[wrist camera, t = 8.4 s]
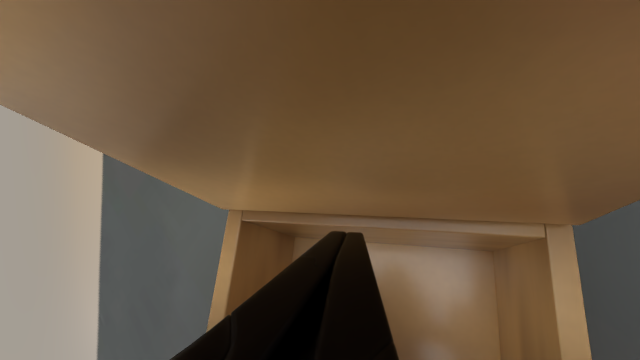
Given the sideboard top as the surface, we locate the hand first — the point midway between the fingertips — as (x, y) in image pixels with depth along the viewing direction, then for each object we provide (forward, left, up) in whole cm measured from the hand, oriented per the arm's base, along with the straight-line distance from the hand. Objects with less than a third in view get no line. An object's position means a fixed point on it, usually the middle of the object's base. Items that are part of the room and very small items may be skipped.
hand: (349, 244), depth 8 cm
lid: (+2, +1, +5) cm, 5 cm away
